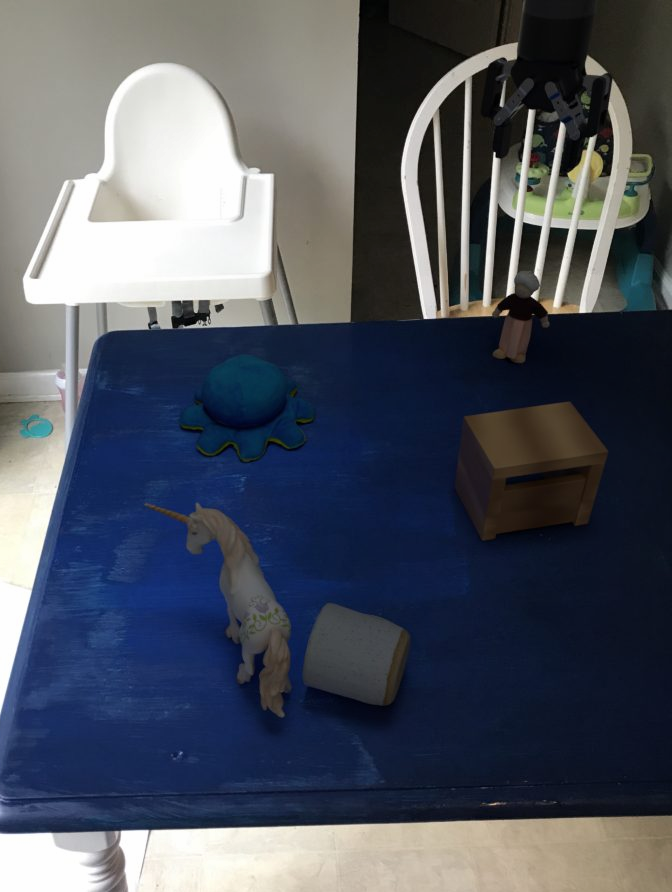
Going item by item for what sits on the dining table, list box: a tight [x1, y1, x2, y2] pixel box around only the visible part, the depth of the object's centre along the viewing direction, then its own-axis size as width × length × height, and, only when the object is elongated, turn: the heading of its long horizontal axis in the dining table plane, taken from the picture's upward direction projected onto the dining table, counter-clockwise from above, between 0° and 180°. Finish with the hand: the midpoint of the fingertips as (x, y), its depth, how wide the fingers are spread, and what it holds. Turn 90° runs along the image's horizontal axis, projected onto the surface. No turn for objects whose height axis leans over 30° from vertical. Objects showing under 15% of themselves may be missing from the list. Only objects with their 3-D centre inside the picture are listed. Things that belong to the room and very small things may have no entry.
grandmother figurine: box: [491, 270, 550, 364], centre depth 111 cm, size 8×4×13 cm, turn 72°
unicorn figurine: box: [144, 502, 293, 718], centre depth 75 cm, size 7×20×13 cm, turn 36°
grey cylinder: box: [302, 602, 411, 706], centre depth 74 cm, size 11×8×8 cm
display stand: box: [454, 401, 609, 542], centre depth 89 cm, size 12×9×10 cm
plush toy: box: [179, 353, 316, 463], centre depth 103 cm, size 17×17×8 cm
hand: (533, 163), depth 99 cm, fingers open, 8 cm apart
